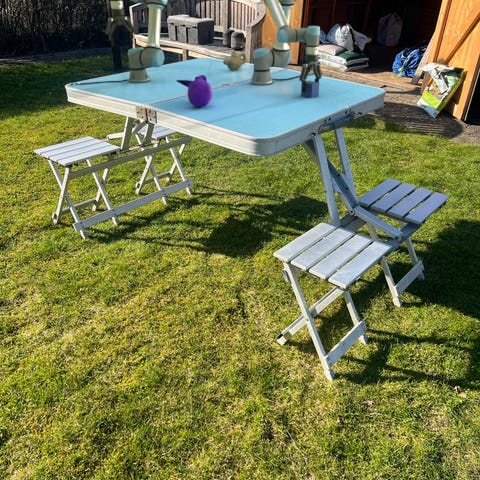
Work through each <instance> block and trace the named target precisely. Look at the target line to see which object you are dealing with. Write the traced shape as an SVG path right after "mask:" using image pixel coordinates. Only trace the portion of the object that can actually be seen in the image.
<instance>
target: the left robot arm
mask: <svg viewBox="0 0 480 480" xmlns="http://www.w3.org/2000/svg"><path fill="white" fill-rule="evenodd" d="M130 1H131V2H132V3H136V4H141V5H147V6H146V7H147V8H148V25H147V26H148V27H147V44H146V45H145V46H144V47H142V46H141V47H134V48H130V49H127V57H128V66H129V76H128V78H127V79H122V80H106V81H105V80H103V81H92V82H78V83H80V84H78V83H77V82H71V84H70V86H73V85H79V86H81V85H93V84H105V83H124V82H127V81H128V82H129V83H133V84H141V83H148V82H150V75H149V74H148V71H147V68H160V67H162V66H163V65H164V62H165V53H164V51H163V50H162V47H161V27H162V26H161V25H162V11H163V10H164V8H165V5H167V4H168V0H130ZM109 2H110V9H111V15H112V17H108V18H107V25H106V28H105V33H104V34H105V35H108V40H109V41H110V45H111V47H115V41H114V39H115V38H114V35H113V34H114V31H115V30H116V27H117V26H124V28H126V29H127V31H128V32H129V33H128V36H129V44H130V45H134V37H135V36H134V33H136V31H137V30H136V28H135V27H134V24H133V23H132V21H131V19H130V16H127V15H126V16H125V9H124V2H123V0H109ZM73 83H75V84H73Z"/></svg>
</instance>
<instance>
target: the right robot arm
mask: <svg viewBox="0 0 480 480" xmlns="http://www.w3.org/2000/svg"><path fill="white" fill-rule="evenodd" d="M297 1H298V0H263V3H264V5H265V7H267V8H268V11H269V13H270V16H271V18H272V21H273V22H274V25H275V27H276V31H275V32H276V33H275V40H274V41H275V42H274V44H272V48H270V47H267V46H266V47H260V48H259V47H258V48H256V49H255V50H253V73H252V75H251V79H250V84H252V85H255V86H268V85H272V84H273V81H289V80H292V79H295V78H299V79H298V81H299V82H301V84H302V92H304V93H306V82H305V81H307V79H308V76H311V75H312V76H314V77H315V78H314V82H319V83H320V80H321V78H322V77H323V74H324V73H323V72H322V69H321V68H322V67H321V61H319V49H320V48H319V46H320V36H321V27H320V26H319V25H309V26H307V27H301V28H291V26H290V24H291V18H292V17H291V16H292V8H293V7H294V6H295V2H297ZM291 43H292V44H293V43H306V45H305V46H306V47H305V61H306V63H302V67H301V71H300V74H299V75H296V76H292V77H287V78H272V74H271V68H276V67H277V68H278V67H282V68H283V67H286V66H288V65H289V64H290V63H291V60H292V51H291V49H290V46H289V45H288V44H291ZM311 71H312V72H313V73H312V72H311ZM310 72H311V73H310Z"/></svg>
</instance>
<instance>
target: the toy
mask: <svg viewBox="0 0 480 480" xmlns="http://www.w3.org/2000/svg"><path fill="white" fill-rule="evenodd" d="M176 82H177V83H179V84H181V85H183V86H185V87H186V88H187V98H188V101H189V102H190V104H191V105H193V106H194V107H199V108H204V107H206V106H207V105H208V104H209V103H210V102H211V101H212V100H213V95H214V92H213V88H212V86H211V84H210V83H209V82H208V79H207V76H206V75H204V74H201V75H200V74H199V75H198V76H195V77H194V80H190V79H177V80H176Z"/></svg>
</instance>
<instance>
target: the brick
mask: <svg viewBox="0 0 480 480" xmlns="http://www.w3.org/2000/svg"><path fill="white" fill-rule="evenodd" d="M305 82H306V93H304V92H302V83H301V84H300V85H301V86H300V89H301V90H300V96H301V97H306V98H308V99H309V98H310V99H313V98H317V97H319V95H320V94H319V93H320V81H319V82H315V80H314V81H313V80H306V81H305Z"/></svg>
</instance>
